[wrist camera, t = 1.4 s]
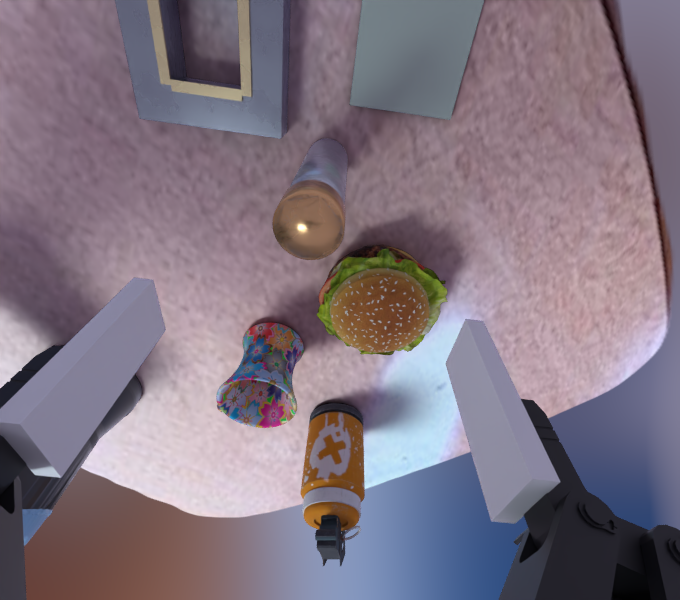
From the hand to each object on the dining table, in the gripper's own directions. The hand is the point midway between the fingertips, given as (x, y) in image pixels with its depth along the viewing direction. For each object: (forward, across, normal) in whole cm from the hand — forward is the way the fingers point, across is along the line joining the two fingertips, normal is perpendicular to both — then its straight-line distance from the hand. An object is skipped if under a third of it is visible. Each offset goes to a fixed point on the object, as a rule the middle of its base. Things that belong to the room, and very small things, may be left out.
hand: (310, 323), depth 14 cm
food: (+23, +7, -13) cm, 28 cm away
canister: (+23, +5, -41) cm, 47 cm away
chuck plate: (+23, -11, +9) cm, 27 cm away
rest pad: (+23, +5, +11) cm, 26 cm away
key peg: (+23, -1, +1) cm, 23 cm away
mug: (+23, -7, -25) cm, 35 cm away
